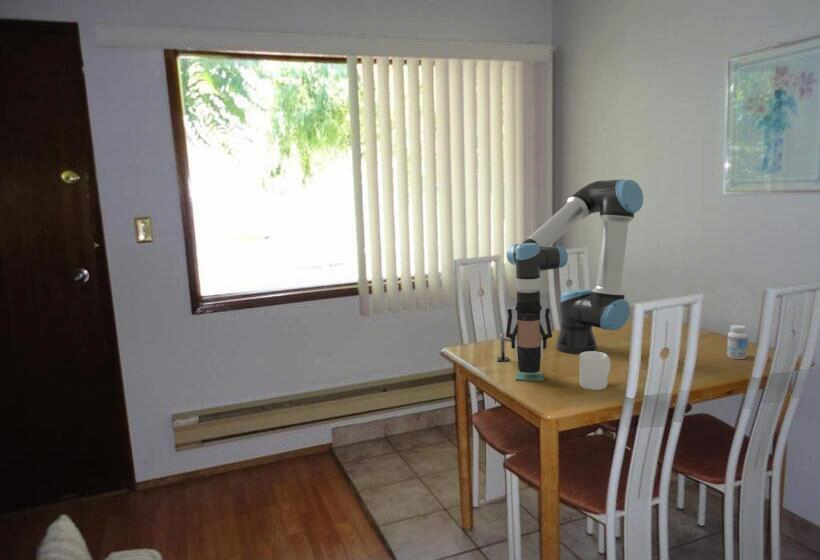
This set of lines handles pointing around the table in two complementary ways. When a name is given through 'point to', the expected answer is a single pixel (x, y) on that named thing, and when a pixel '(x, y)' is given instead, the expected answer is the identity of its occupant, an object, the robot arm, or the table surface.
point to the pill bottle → (737, 342)
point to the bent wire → (503, 358)
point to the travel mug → (528, 342)
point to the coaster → (529, 376)
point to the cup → (594, 370)
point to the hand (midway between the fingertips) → (528, 357)
